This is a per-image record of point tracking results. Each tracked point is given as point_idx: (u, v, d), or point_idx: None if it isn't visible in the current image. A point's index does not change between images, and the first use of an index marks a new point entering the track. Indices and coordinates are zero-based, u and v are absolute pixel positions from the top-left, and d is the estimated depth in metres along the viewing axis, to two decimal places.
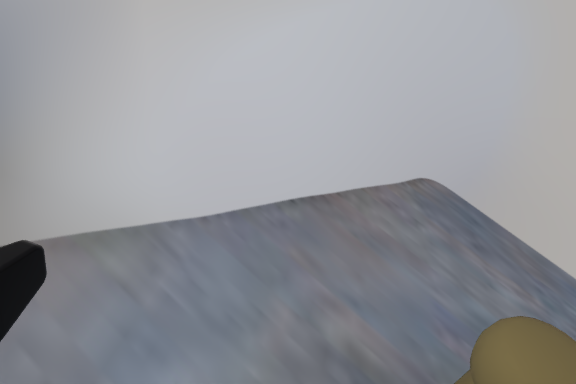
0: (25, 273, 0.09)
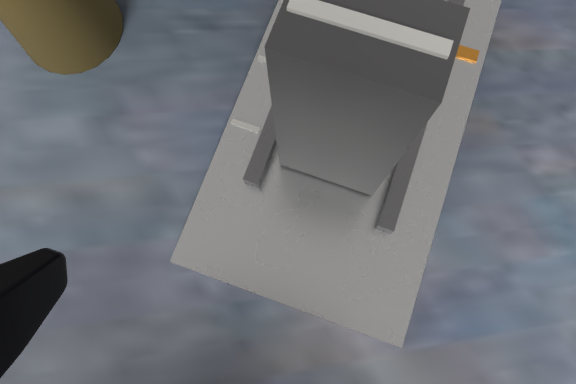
0: (47, 281, 0.09)
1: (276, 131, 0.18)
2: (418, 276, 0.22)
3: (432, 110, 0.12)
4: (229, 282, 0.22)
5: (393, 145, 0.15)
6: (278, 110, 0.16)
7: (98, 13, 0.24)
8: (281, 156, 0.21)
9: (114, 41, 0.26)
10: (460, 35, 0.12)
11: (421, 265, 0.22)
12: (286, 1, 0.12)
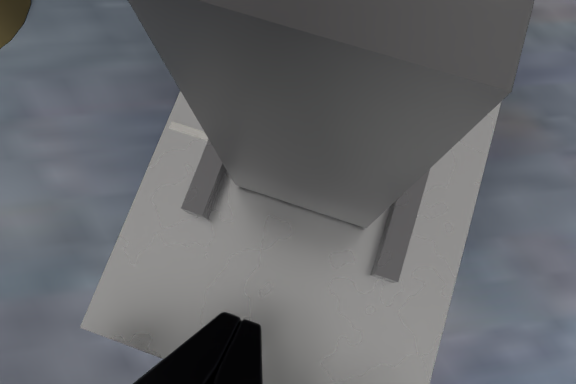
0: None
1: (213, 143, 0.12)
2: (434, 344, 0.15)
3: (484, 110, 0.06)
4: (164, 356, 0.15)
5: (398, 169, 0.09)
6: (201, 111, 0.09)
7: None
8: (234, 176, 0.15)
9: (16, 19, 0.19)
10: None
11: (438, 327, 0.15)
12: None
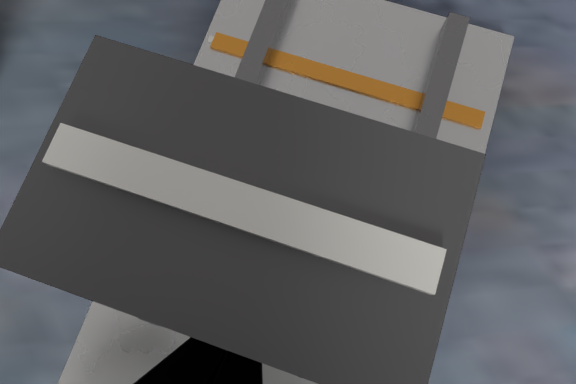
0: None
1: None
2: None
3: None
4: None
5: None
6: None
7: None
8: None
9: None
10: (463, 227, 0.05)
11: None
12: (52, 141, 0.05)
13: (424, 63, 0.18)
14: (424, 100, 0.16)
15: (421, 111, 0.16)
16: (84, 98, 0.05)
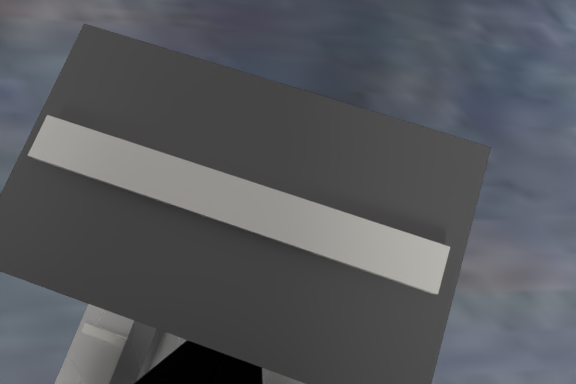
0: None
1: None
2: None
3: None
4: None
5: None
6: None
7: None
8: None
9: None
10: (467, 224, 0.05)
11: None
12: None
13: None
14: None
15: None
16: (72, 89, 0.05)
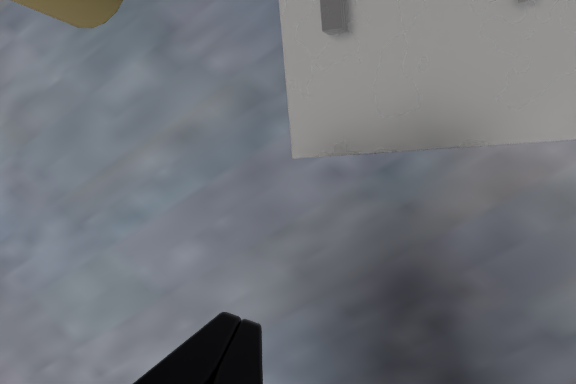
0: None
1: None
2: None
3: None
4: (363, 152, 0.19)
5: None
6: None
7: None
8: None
9: None
10: None
11: None
12: None
13: None
14: None
15: None
16: None
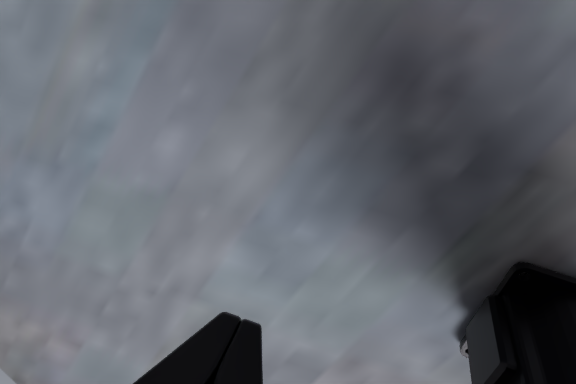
0: None
1: None
2: None
3: None
4: None
5: None
6: None
7: None
8: None
9: None
10: None
11: None
12: None
13: None
14: None
15: None
16: None
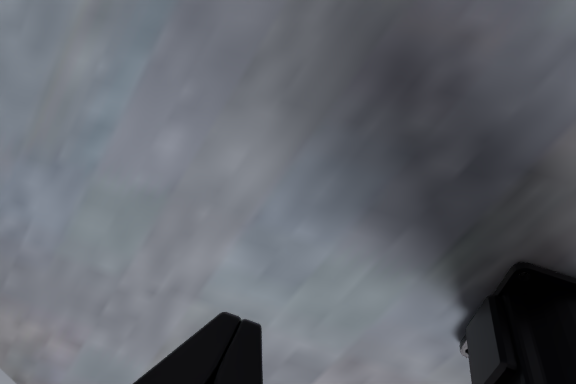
0: None
1: None
2: None
3: None
4: None
5: None
6: None
7: None
8: None
9: None
10: None
11: None
12: None
13: None
14: None
15: None
16: None
